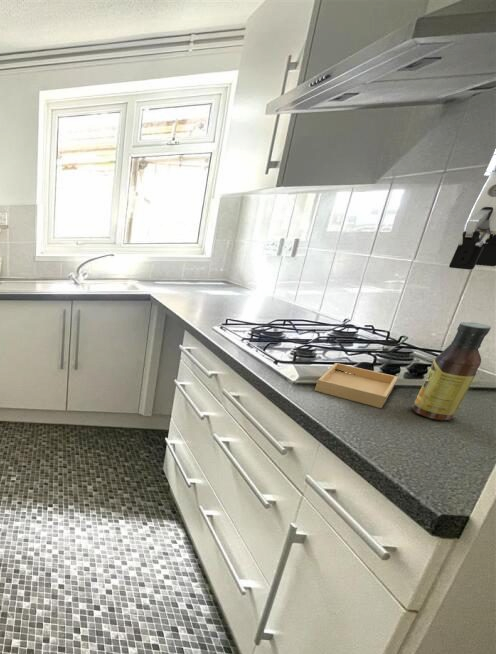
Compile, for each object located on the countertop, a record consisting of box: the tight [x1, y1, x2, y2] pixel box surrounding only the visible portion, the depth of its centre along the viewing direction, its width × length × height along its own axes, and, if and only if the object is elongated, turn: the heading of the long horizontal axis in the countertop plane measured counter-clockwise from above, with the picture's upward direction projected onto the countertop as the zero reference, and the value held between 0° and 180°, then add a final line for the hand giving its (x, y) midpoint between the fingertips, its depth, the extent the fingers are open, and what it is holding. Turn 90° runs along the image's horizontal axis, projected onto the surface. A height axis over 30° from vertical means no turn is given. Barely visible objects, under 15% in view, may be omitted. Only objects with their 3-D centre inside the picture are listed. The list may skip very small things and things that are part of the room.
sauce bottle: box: [413, 321, 492, 421], centre depth 84 cm, size 7×6×20 cm
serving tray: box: [314, 362, 399, 409], centre depth 99 cm, size 17×12×3 cm
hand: (472, 266), depth 79 cm, fingers open, 9 cm apart
